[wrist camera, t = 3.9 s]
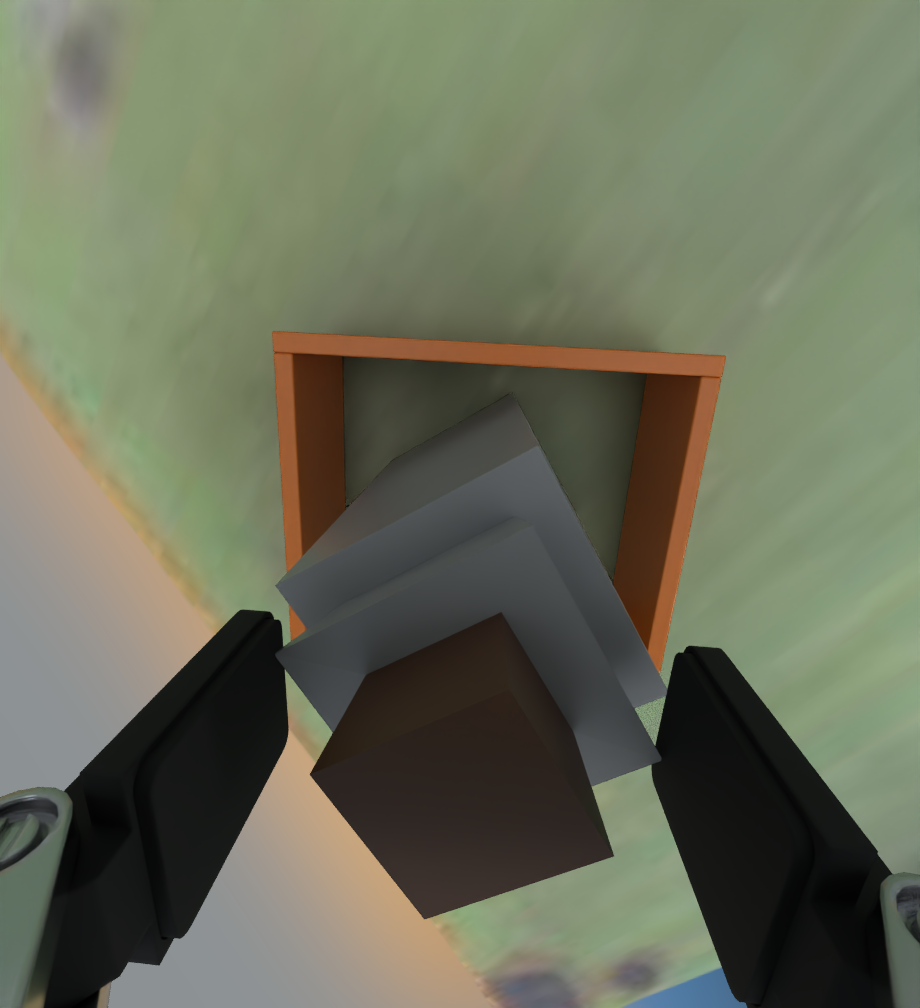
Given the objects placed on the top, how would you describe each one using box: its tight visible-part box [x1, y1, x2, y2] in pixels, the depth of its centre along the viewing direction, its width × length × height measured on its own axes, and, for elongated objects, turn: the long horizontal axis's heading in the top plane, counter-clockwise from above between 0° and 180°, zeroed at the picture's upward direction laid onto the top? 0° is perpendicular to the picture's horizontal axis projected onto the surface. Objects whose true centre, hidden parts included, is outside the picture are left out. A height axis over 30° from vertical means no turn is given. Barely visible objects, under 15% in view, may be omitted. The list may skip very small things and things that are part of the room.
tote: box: [272, 331, 726, 675], centre depth 21 cm, size 13×15×6 cm
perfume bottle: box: [275, 392, 667, 919], centre depth 16 cm, size 7×7×18 cm
